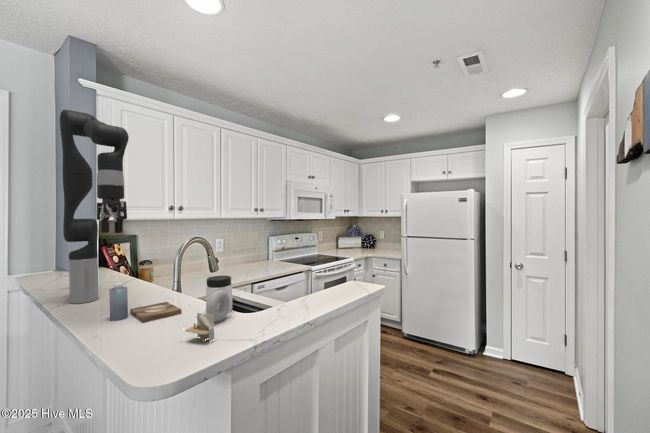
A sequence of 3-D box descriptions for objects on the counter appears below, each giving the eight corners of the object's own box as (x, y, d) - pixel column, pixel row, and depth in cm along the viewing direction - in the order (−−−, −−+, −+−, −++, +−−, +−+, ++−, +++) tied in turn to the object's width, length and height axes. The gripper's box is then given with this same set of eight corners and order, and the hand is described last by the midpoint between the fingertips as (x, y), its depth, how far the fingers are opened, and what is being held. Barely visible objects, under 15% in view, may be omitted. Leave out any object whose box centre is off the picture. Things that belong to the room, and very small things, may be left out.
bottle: (108, 318, 102) (107, 282, 102) (125, 314, 106) (124, 280, 106) (111, 322, 99) (111, 285, 99) (129, 318, 102) (129, 282, 102)
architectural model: (205, 347, 80) (205, 319, 80) (185, 343, 83) (184, 316, 82) (214, 342, 83) (214, 315, 83) (194, 338, 86) (194, 312, 86)
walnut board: (130, 313, 107) (130, 308, 107) (166, 305, 116) (166, 301, 116) (142, 322, 98) (142, 317, 98) (181, 313, 106) (181, 308, 106)
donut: (213, 327, 93) (212, 294, 93) (203, 326, 94) (203, 293, 94) (232, 316, 102) (231, 286, 102) (223, 315, 103) (223, 286, 103)
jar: (212, 307, 112) (211, 275, 112) (234, 307, 113) (233, 274, 113) (203, 316, 103) (202, 280, 103) (227, 315, 104) (227, 280, 104)
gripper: (87, 185, 103) (88, 233, 103) (109, 182, 96) (110, 233, 96) (111, 186, 110) (112, 232, 110) (134, 184, 103) (135, 232, 103)
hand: (111, 232), depth 103 cm, fingers open, 8 cm apart
